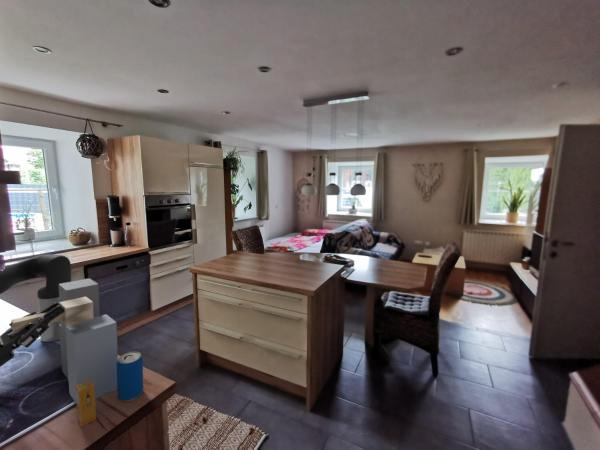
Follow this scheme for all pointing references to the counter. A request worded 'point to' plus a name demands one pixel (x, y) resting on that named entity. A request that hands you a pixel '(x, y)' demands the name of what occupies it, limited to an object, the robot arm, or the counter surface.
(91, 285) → the tall tower
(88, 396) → the supplement box
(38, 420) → the counter surface
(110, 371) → the grey tall block
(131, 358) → the beverage can
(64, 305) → the mallet
